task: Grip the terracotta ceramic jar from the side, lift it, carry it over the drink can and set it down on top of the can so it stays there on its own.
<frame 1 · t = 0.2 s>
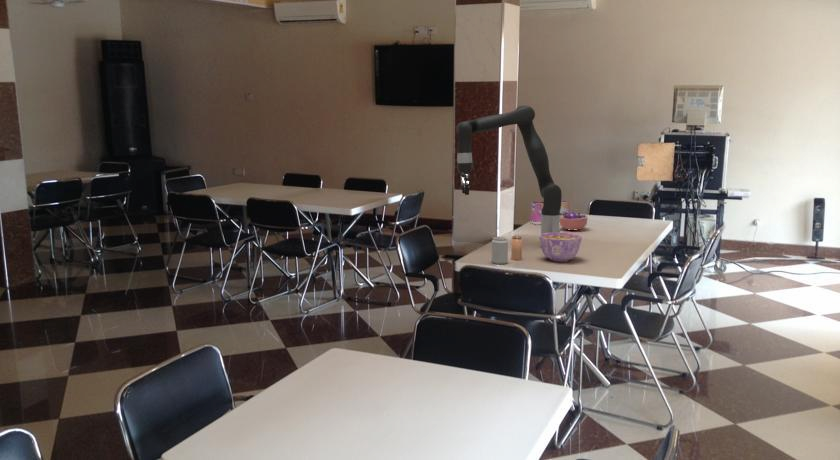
hand: (465, 194, 354), 29 cm above the table, tool pointing down, fingers open, 8 cm apart
can: (499, 263, 327), on the table
jar: (516, 259, 335), on the table
bowl of food: (559, 260, 333), on the table
gum box: (549, 223, 442), on the table
cell model: (572, 230, 417), on the table
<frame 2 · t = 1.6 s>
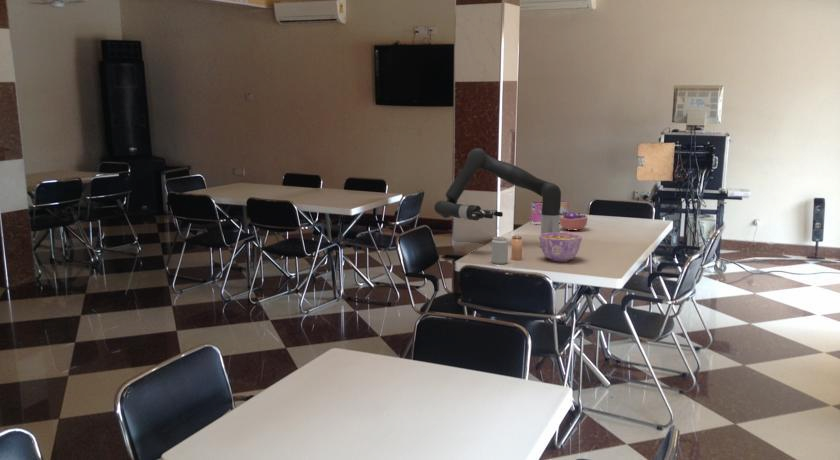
hand: (497, 215, 338), 20 cm above the table, tool horizontal, fingers open, 8 cm apart
nothing on the table moved.
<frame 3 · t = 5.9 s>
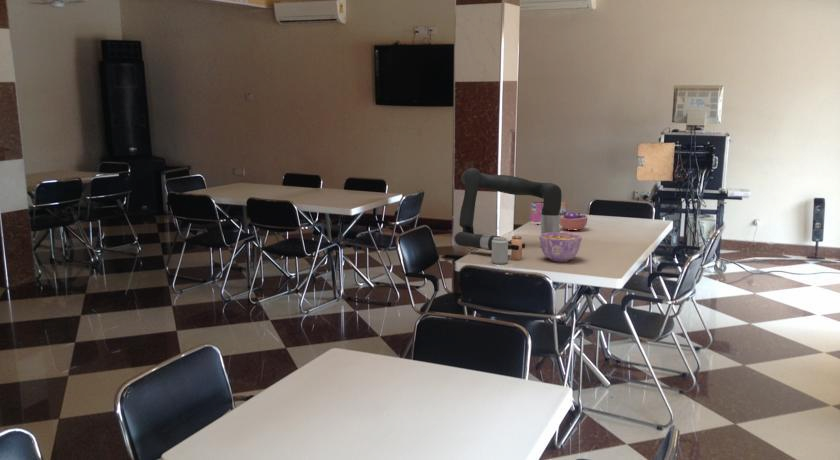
hand: (521, 247, 332), 6 cm above the table, tool horizontal, fingers closed on jar, 5 cm apart
jar: (516, 259, 335), on the table, touching gripper
when the fingers open (19 cm above the table, at t = 10.1 s): jar stays where it is, resting on can.
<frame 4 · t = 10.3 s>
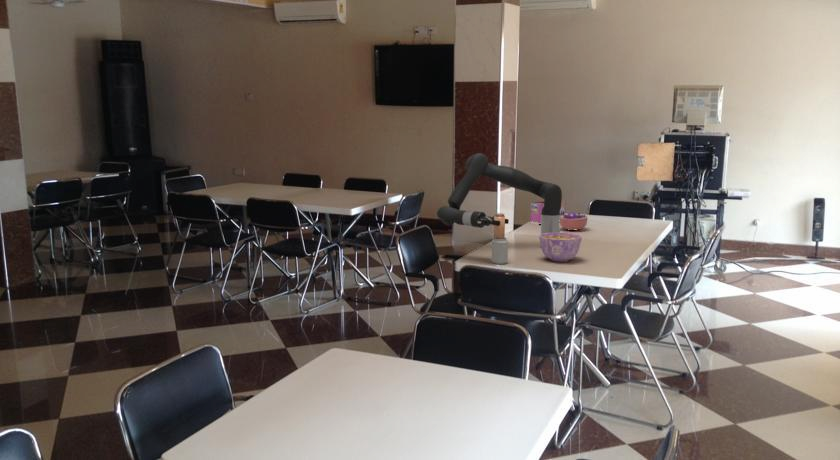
hand: (503, 222, 322), 19 cm above the table, tool horizontal, fingers open, 6 cm apart
can: (499, 263, 327), on the table, touching jar
jar: (499, 237, 325), point 12 cm above the table, touching can
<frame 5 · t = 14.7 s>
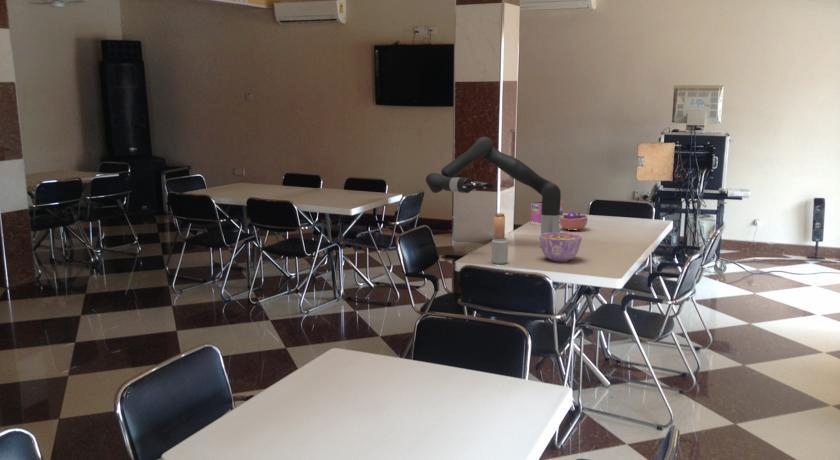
hand: (488, 187, 335), 34 cm above the table, tool horizontal, fingers open, 8 cm apart
at the end: jar inside the target area on the can (0.4 cm from its centre), point 12.2 cm above the can's base; jar tilted 1°; the gripper is holding nothing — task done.
